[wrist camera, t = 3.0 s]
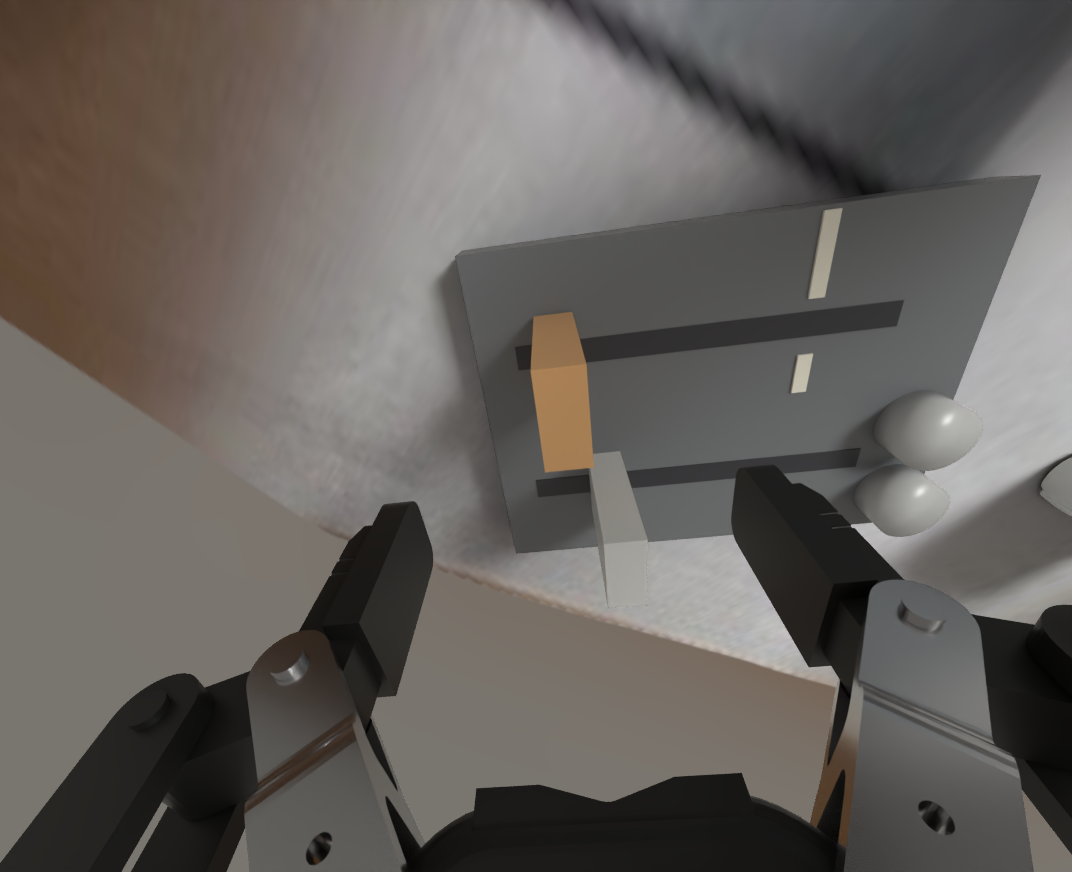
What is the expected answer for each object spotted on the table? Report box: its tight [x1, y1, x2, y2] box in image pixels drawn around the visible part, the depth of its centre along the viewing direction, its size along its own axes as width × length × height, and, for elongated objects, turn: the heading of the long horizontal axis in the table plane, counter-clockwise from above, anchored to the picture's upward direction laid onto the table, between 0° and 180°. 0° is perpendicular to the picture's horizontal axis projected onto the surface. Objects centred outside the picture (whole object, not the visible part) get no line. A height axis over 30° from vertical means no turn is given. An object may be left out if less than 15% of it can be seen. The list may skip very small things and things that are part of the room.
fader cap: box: [531, 312, 594, 472], centre depth 18 cm, size 4×2×7 cm, turn 7°
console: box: [455, 175, 1041, 608], centre depth 20 cm, size 18×24×9 cm
